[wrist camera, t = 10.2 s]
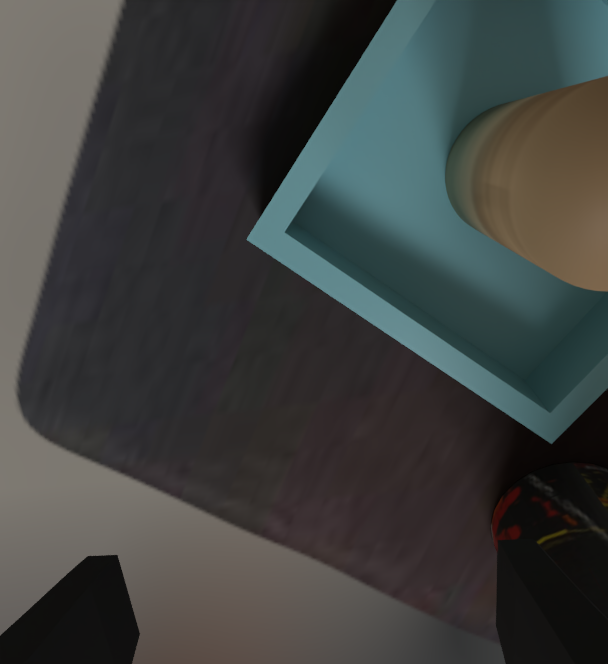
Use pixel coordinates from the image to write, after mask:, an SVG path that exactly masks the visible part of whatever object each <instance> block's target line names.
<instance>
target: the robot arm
mask: <svg viewBox="0 0 608 664" xmlns="http://www.w3.org/2000/svg"><path fill="white" fill-rule="evenodd" d="M496 627H497V631H498V635H499V639H500V643H501V647H502V651H503V654H504V658H505V662H506V664H608V618H607V617H606V616H605V615H604V614H603V613H602V612H601V611H600V610H599V609H598V608H597V607H596V606H595V605H594V604H593V603H592V602H591V601H590V600H589V598H588V597H587V596H586V595H585V594H584V593H583V592H582V591H581V590H580V589H579V588H578V587H577V586H576V585H575V584H574V583H573V581H572V580H571V579H570V578H569V577H568V576H567V575H566V574H565V573H564V572H563V571H562V569H561V568H560V567H559V566H558V565H557V564H556V563H555V562H554V561H553V559H552V558H551V557H550V556H549V555H548V554H547V553H546V552H545V551H544V549H543V548H542V547H541V546H540V545H539V544H538V543H537V542H536V541H535V540H534V539H513V540H498V551H497V606H496ZM139 635H140V633H139V629H138V626H137V622H136V619H135V615H134V612H133V608H132V605H131V601H130V598H129V594H128V591H127V587H126V584H125V581H124V577H123V573H122V570H121V566H120V562H119V560H118V556H117V555H106V556H88V557H86V558H85V559H84V560H83V561H82V562H81V563H79V564H78V565H77V566H76V567H75V568H74V569H73V570H71V571H70V572H69V573H68V574H67V575H66V576H65V577H64V578H63V579H61V580H60V581H59V582H58V583H57V584H56V585H55V586H54V587H53V588H52V589H51V590H50V591H48V592H47V593H46V594H45V595H44V596H43V597H42V598H41V599H40V600H39V601H38V602H37V603H36V604H34V605H33V606H32V607H31V608H30V609H29V610H28V611H27V612H26V613H25V614H24V615H22V616H21V617H20V618H19V619H18V620H17V621H16V622H15V623H14V624H13V625H11V626H10V627H9V628H8V629H7V630H6V631H5V632H4V633H3V634H2V635H1V636H0V664H132V661H133V657H134V654H135V650H136V646H137V642H138V639H139Z"/></svg>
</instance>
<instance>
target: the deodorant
mask: <svg viewBox="0 0 608 664" xmlns="http://www.w3.org/2000/svg"><path fill="white" fill-rule="evenodd" d="M491 531H492V540H493V543H494V546H495V548H496V551H498V540H513V539H534V540H535V541H536V542H537V543H538V544H539V545H540V546H541V547H542V548H543V549H544V551H545V552H546V553H547V554H548V555H549V556H550V557H551V558H552V559H553V561H554V562H555V563H556V564H557V565H558V566H559V567H560V568H561V569H562V571H563V572H564V573H565V574H566V575H567V576H568V577H569V578H570V579H571V580H572V581H573V583H574V584H575V585H576V586H577V587H578V588H579V589H580V590H581V591H582V592H583V593H584V594H585V595H586V596H587V597H588V598H589V600H590V601H591V602H592V603H593V604H594V605H595V606H596V607H597V608H598V609H599V610H600V611H601V612H602V613H603V614H604V615H605V616H606V617H607V618H608V469H607V468H604V467H601V466H598V465H595V464H589V463H576V462H570V463H563V464H555V465H550V466H547V467H545V468H542V469H539V470H536V471H533V472H531V473H530V474H528V475H527V476H525V477H523V478H522V479H520V480H519V481H517V482H516V483H514V485H513V486H512V487H511V488H510V489H509V490H508V491H507V492H506V493H505V494H504V495H503V496H502V497H501V499H500V501H499V503H498V505H497V506H496V508H495V510H494V514H493V518H492V523H491Z"/></svg>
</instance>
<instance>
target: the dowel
mask: <svg viewBox="0 0 608 664" xmlns="http://www.w3.org/2000/svg"><path fill="white" fill-rule="evenodd" d="M445 184H446V191H447V194H448V198H449V200H450V203H451V205H452V207H453V208H454V210H455V212H456V213H457V214H458V215H459V217H460V218H461V219H462V220H463V221H464V222H465V223H467V224H468V225H469V226H471V227H472V228H474V229H476V230H477V231H479V232H481V233H482V234H484V235H486V236H487V237H489V238H491V239H493V240H494V241H496V242H498V243H499V244H501V245H503V246H504V247H506V248H508V249H510V250H511V251H513V252H515V253H516V254H518V255H520V256H521V257H523V258H525V259H527V260H528V261H530V262H532V263H533V264H535V265H537V266H538V267H540V268H542V269H544V270H545V271H547V272H549V273H550V274H552V275H554V276H555V277H557V278H559V279H561V280H563V281H565V282H567V283H569V284H571V285H574V286H577V287H580V288H583V289H588V290H594V291H608V76H605V77H602V78H598V79H594V80H590V81H587V82H583V83H579V84H575V85H572V86H568V87H564V88H560V89H557V90H553V91H549V92H545V93H542V94H538V95H534V96H530V97H527V98H523V99H519V100H515V101H512V102H508V103H504V104H500V105H497V106H495V107H492V108H490V109H488V110H486V111H484V112H482V113H481V114H480V115H478V116H477V117H475V118H474V119H473V120H472V121H471V122H470V123H468V124H467V125H466V127H465V128H464V129H463V130H462V131H461V133H460V134H459V135H458V137H457V138H456V140H455V142H454V144H453V146H452V148H451V150H450V153H449V156H448V160H447V164H446V171H445Z"/></svg>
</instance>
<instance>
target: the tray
mask: <svg viewBox="0 0 608 664" xmlns="http://www.w3.org/2000/svg"><path fill="white" fill-rule="evenodd" d="M605 76H608V0H397V1H396V3H395V5H394V6H393V8H392V9H391V11H390V12H389V14H388V16H387V17H386V19H385V20H384V22H383V24H382V25H381V27H380V28H379V30H378V31H377V33H376V35H375V36H374V38H373V39H372V41H371V43H370V44H369V46H368V47H367V49H366V51H365V52H364V54H363V55H362V57H361V58H360V60H359V62H358V63H357V65H356V66H355V68H354V70H353V71H352V73H351V74H350V76H349V78H348V79H347V81H346V82H345V84H344V85H343V87H342V89H341V90H340V92H339V93H338V95H337V97H336V98H335V100H334V101H333V103H332V105H331V106H330V108H329V109H328V111H327V112H326V114H325V116H324V117H323V119H322V120H321V122H320V124H319V125H318V127H317V128H316V130H315V132H314V133H313V135H312V136H311V138H310V139H309V141H308V143H307V144H306V146H305V147H304V149H303V151H302V152H301V154H300V155H299V157H298V158H297V160H296V162H295V163H294V165H293V166H292V168H291V170H290V171H289V173H288V174H287V176H286V178H285V179H284V181H283V182H282V184H281V185H280V187H279V189H278V190H277V192H276V193H275V195H274V197H273V198H272V200H271V201H270V203H269V205H268V206H267V208H266V209H265V211H264V212H263V214H262V216H261V217H260V219H259V220H258V222H257V224H256V225H255V227H254V228H253V230H252V232H251V233H250V235H249V236H248V238H247V239H246V240H248V241H249V242H251V243H252V244H254V245H255V246H257V247H258V248H260V249H261V250H263V251H264V252H266V253H267V254H269V255H270V256H272V257H273V258H275V259H276V260H278V261H279V262H281V263H282V264H284V265H285V266H287V267H288V268H290V269H291V270H293V271H294V272H296V273H297V274H299V275H300V276H302V277H303V278H305V279H306V280H308V281H309V282H311V283H312V284H314V285H315V286H317V287H318V288H320V289H321V290H323V291H324V292H326V293H327V294H329V295H330V296H332V297H333V298H335V299H336V300H337V301H339V302H340V303H342V304H343V305H345V306H346V307H348V308H349V309H351V310H352V311H354V312H355V313H357V314H358V315H360V316H361V317H363V318H364V319H366V320H367V321H369V322H370V323H372V324H373V325H375V326H376V327H378V328H379V329H381V330H382V331H384V332H385V333H387V334H388V335H390V336H391V337H393V338H394V339H396V340H397V341H399V342H400V343H402V344H403V345H405V346H406V347H408V348H409V349H411V350H412V351H414V352H415V353H417V354H418V355H420V356H421V357H423V358H424V359H426V360H427V361H428V362H430V363H431V364H433V365H434V366H436V367H437V368H439V369H440V370H442V371H443V372H445V373H446V374H448V375H449V376H451V377H452V378H454V379H455V380H457V381H458V382H460V383H461V384H463V385H464V386H466V387H467V388H469V389H470V390H472V391H473V392H475V393H476V394H478V395H479V396H481V397H482V398H484V399H485V400H487V401H488V402H490V403H491V404H493V405H494V406H496V407H497V408H499V409H500V410H502V411H503V412H505V413H506V414H508V415H509V416H511V417H512V418H514V419H515V420H517V421H518V422H520V423H521V424H522V425H524V426H525V427H527V428H528V429H530V430H531V431H533V432H534V433H536V434H537V435H539V436H540V437H542V438H543V439H545V440H546V441H548V442H549V443H551V444H552V443H553V442H554V441H555V440H556V439H557V438H558V437H559V436H560V435H561V434H562V433H563V432H564V431H565V430H566V429H567V428H568V427H569V426H570V425H571V424H572V423H573V422H574V421H575V420H576V419H577V418H578V417H579V416H580V415H581V414H582V413H583V412H584V411H585V410H586V409H587V408H588V407H589V406H590V405H591V404H592V403H593V402H594V401H595V400H596V399H597V398H598V397H599V396H600V395H601V394H602V393H603V392H604V391H605V390H606V389H607V388H608V291H594V290H588V289H583V288H580V287H577V286H574V285H571V284H569V283H567V282H565V281H563V280H561V279H559V278H557V277H555V276H554V275H552V274H550V273H549V272H547V271H545V270H544V269H542V268H540V267H538V266H537V265H535V264H533V263H532V262H530V261H528V260H527V259H525V258H523V257H521V256H520V255H518V254H516V253H515V252H513V251H511V250H510V249H508V248H506V247H504V246H503V245H501V244H499V243H498V242H496V241H494V240H493V239H491V238H489V237H487V236H486V235H484V234H482V233H481V232H479V231H477V230H476V229H474V228H472V227H471V226H469V225H468V224H467V223H465V222H464V221H463V220H462V219H461V218H460V217H459V215H458V214H457V213H456V212H455V210H454V208H453V207H452V205H451V203H450V200H449V198H448V194H447V191H446V184H445V171H446V164H447V160H448V156H449V153H450V150H451V148H452V146H453V144H454V142H455V140H456V138H457V137H458V135H459V134H460V133H461V131H462V130H463V129H464V128H465V127H466V125H467V124H468V123H470V122H471V121H472V120H473V119H474V118H475V117H477V116H478V115H480V114H481V113H482V112H484V111H486V110H488V109H490V108H492V107H495V106H497V105H500V104H504V103H508V102H512V101H515V100H519V99H523V98H527V97H530V96H534V95H538V94H542V93H545V92H549V91H553V90H557V89H560V88H564V87H568V86H572V85H575V84H579V83H583V82H587V81H590V80H594V79H598V78H602V77H605Z"/></svg>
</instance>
